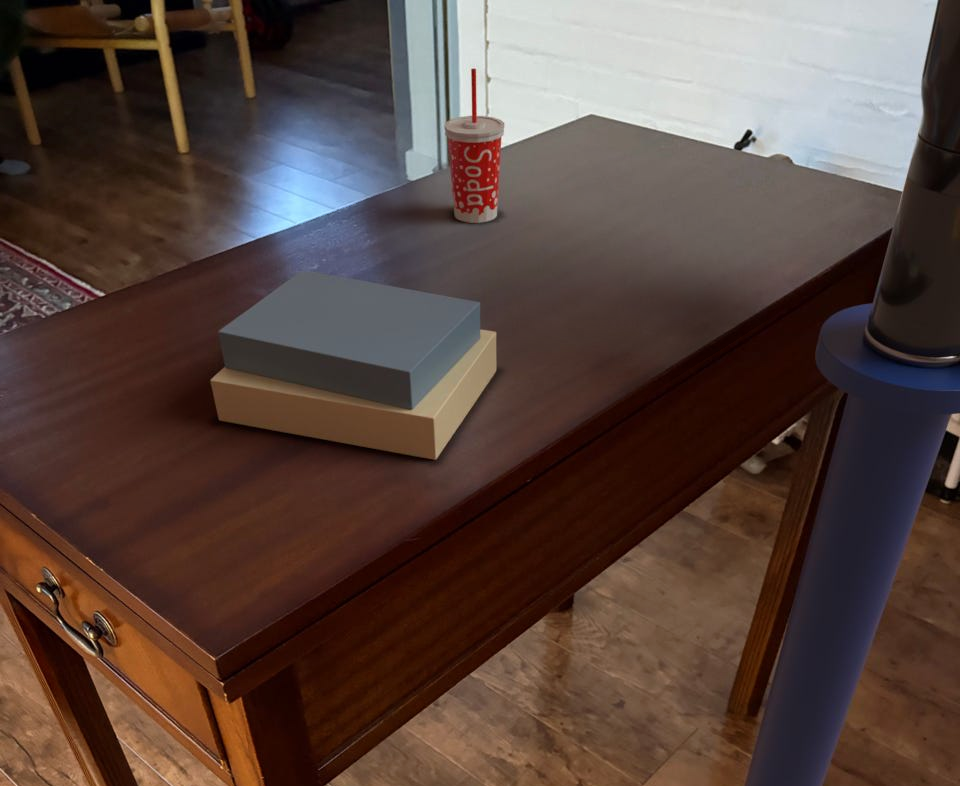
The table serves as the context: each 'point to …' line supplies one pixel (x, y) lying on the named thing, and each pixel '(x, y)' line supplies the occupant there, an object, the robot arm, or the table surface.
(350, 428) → the book stack
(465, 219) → the beverage cup
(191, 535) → the table surface
